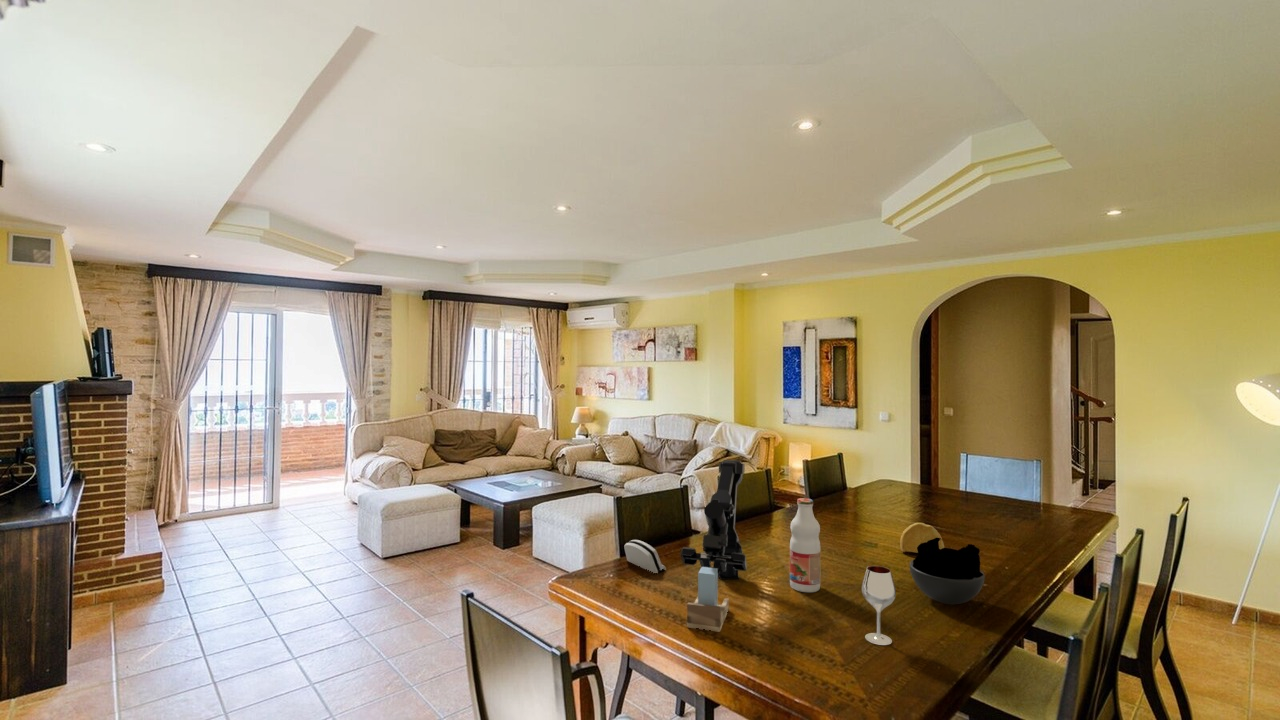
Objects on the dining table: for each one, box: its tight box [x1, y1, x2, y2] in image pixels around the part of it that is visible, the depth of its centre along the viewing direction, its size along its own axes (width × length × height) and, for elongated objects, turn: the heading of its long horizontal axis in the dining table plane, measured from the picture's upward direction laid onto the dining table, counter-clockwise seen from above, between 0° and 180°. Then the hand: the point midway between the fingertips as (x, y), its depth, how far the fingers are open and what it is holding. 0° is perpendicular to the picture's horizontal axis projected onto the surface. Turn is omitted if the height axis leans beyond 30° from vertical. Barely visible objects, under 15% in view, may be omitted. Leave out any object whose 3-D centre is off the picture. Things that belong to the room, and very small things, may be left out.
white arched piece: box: [623, 539, 667, 574], centre depth 203 cm, size 17×5×10 cm, turn 37°
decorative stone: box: [899, 522, 945, 554], centre depth 220 cm, size 13×15×15 cm
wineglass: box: [861, 565, 897, 646], centre depth 149 cm, size 8×8×18 cm
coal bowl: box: [909, 537, 986, 605], centre depth 173 cm, size 20×20×19 cm
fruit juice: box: [789, 497, 821, 593], centre depth 184 cm, size 9×9×28 cm
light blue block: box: [697, 566, 719, 606], centre depth 160 cm, size 5×4×12 cm
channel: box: [686, 595, 730, 633], centre depth 161 cm, size 15×9×6 cm, turn 162°
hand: (709, 586), depth 162 cm, fingers closed
